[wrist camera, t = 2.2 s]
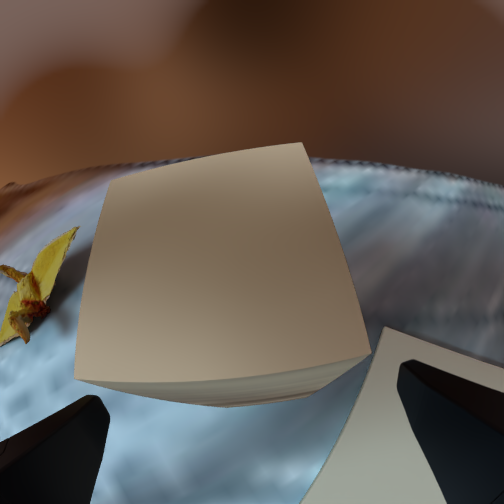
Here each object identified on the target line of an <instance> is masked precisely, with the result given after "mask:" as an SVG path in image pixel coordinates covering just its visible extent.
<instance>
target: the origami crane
mask: <svg viewBox="0 0 504 504" xmlns="http://www.w3.org/2000/svg"><path fill="white" fill-rule="evenodd" d="M79 227H80V226H78V227H74V228H72V229H71V230H69V231H67V232H65V233H63V234H62V235H61V236H58V237H57V238H56V239H53V240H52V241H51V242H50V243H49V244H48V245H45V247H43V249H42V250H41V251H40V252H39V253H38V255H37V257H36V259H35V261H34V263H33V266H32V271H31V272H30V273H29V274H27V273H25V272H19V271H17V270H15V268H13V267H10V266H6V265H1V266H0V273H2V274H4V275H5V276H7V277H10V278H12V279H14V280H15V281H16V282H18V284H17V292H14V293H13V294H12V296H11V298H10V300H9V303H8V307H7V311H6V314H5V318H4V321H3V324H2V327H1V331H0V346H1V345H3V344H6V342H8V341H10V340H11V339H12V338H14V337H18V336H21V338H22V339H23V340H24V342H25V344H27V343H28V342H29V341H30V333H29V330H28V328H27V327H28V326H29V325H30V323H31V322H32V321H33V316H35V317H39V316H41V319H42V318H44V317H45V316H46V315H47V314H48V313H49V312H50V306H49V307H47V306H46V301H47V299H48V298H49V296H50V294H51V292H52V288H53V286H55V285H56V281H55V278H56V275H57V274H58V271H60V267H61V264H62V263H63V261H64V259H65V256H66V252H67V251H68V250H69V249H70V245H71V242H72V241H73V240H74V238H75V236H76V231H77V230H78V229H79Z"/></svg>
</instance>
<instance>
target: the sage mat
mask: <svg viewBox="0 0 504 504" xmlns="http://www.w3.org/2000/svg"><path fill="white" fill-rule="evenodd" d="M411 359H415V360H418V361H420V362H423V363H425V364H428V365H430V366H433V367H436V368H438V369H441V370H443V371H446V372H449V373H451V374H454V375H456V376H459V377H462V378H464V379H467V380H470V381H473V382H475V383H478V384H481V385H484V386H486V387H489V388H492V389H495V390H498V391H501V392H504V369H503V368H500V367H497V366H494V365H491V364H488V363H485V362H482V361H480V360H477V359H474V358H471V357H468V356H465V355H462V354H459V353H457V352H454V351H451V350H448V349H445V348H443V347H440V346H437V345H434V344H431V343H429V342H426V341H423V340H420V339H418V338H415V337H412V336H409V335H407V334H404V333H401V332H399V331H396V330H393V329H391V328H388V327H384V328H383V329H382V332H381V336H380V339H379V342H378V344H377V347H376V350H375V353H374V356H373V359H372V361H371V364H370V367H369V369H368V372H367V374H366V377H365V379H364V382H363V384H362V387H361V389H360V392H359V394H358V396H357V399H356V401H355V403H354V405H353V408H352V410H351V412H350V414H349V416H348V418H347V421H346V423H345V425H344V427H343V429H342V431H341V433H340V435H339V437H338V439H337V441H336V443H335V444H334V446H333V448H332V450H331V452H330V454H329V456H328V457H327V459H326V461H325V463H324V464H323V466H322V468H321V470H320V471H319V473H318V475H317V476H316V478H315V480H314V481H313V483H312V484H311V486H310V488H309V489H308V491H307V492H306V494H305V495H304V497H303V498H302V500H301V501H300V503H299V504H447V503H446V501H445V499H444V496H443V494H442V492H441V490H440V487H439V485H438V483H437V481H436V479H435V476H434V474H433V472H432V470H431V468H430V466H429V464H428V462H427V460H426V458H425V456H424V453H423V451H422V449H421V447H420V445H419V443H418V441H417V439H416V437H415V435H414V433H413V431H412V429H411V426H410V423H409V421H408V418H407V415H406V412H405V410H404V407H403V404H402V402H401V399H400V397H399V394H398V391H397V378H398V372H399V366H400V364H401V363H402V362H405V361H408V360H411Z"/></svg>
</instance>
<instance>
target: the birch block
mask: <svg viewBox="0 0 504 504" xmlns="http://www.w3.org/2000/svg"><path fill="white" fill-rule="evenodd" d="M371 353H372V352H371V348H370V344H369V340H368V336H367V332H366V328H365V324H364V320H363V316H362V313H361V309H360V305H359V302H358V298H357V295H356V291H355V288H354V284H353V281H352V278H351V274H350V271H349V268H348V265H347V262H346V259H345V255H344V252H343V249H342V246H341V243H340V240H339V237H338V235H337V232H336V229H335V226H334V223H333V220H332V217H331V215H330V212H329V209H328V207H327V204H326V201H325V199H324V196H323V193H322V191H321V188H320V186H319V183H318V181H317V178H316V176H315V173H314V171H313V168H312V166H311V163H310V161H309V158H308V156H307V154H306V152H305V149H304V147H303V144H302V143H291V144H283V145H276V146H268V147H261V148H254V149H248V150H242V151H235V152H230V153H224V154H218V155H213V156H208V157H203V158H198V159H193V160H189V161H184V162H180V163H175V164H171V165H167V166H163V167H159V168H155V169H151V170H147V171H143V172H139V173H136V174H132V175H128V176H125V177H121V178H118V179H115V180H111V182H110V185H109V188H108V191H107V194H106V197H105V201H104V204H103V207H102V211H101V214H100V218H99V221H98V225H97V229H96V232H95V236H94V240H93V244H92V249H91V253H90V257H89V262H88V267H87V272H86V277H85V282H84V288H83V294H82V300H81V307H80V314H79V322H78V330H77V340H76V352H75V368H74V379H77V380H80V381H83V382H86V383H90V384H93V385H97V386H101V387H105V388H108V389H112V390H116V391H121V392H125V393H129V394H134V395H139V396H144V397H149V398H155V399H160V400H166V401H173V402H179V403H187V404H195V405H203V406H213V407H225V408H229V407H241V406H251V405H260V404H268V403H276V402H283V401H289V400H295V399H301V398H306V397H308V396H310V395H311V394H313V393H315V392H316V391H318V390H319V389H321V388H323V387H324V386H326V385H327V384H329V383H330V382H332V381H333V380H335V379H336V378H338V377H339V376H341V375H342V374H344V373H345V372H347V371H348V370H349V369H351V368H352V367H354V366H355V365H356V364H358V363H359V362H361V361H362V360H363V359H365V358H366V357H367V356H369V355H370V354H371Z"/></svg>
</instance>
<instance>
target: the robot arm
mask: <svg viewBox="0 0 504 504" xmlns="http://www.w3.org/2000/svg"><path fill="white" fill-rule="evenodd" d="M397 391H398V394H399V397H400V399H401V402H402V404H403V407H404V410H405V412H406V415H407V418H408V421H409V423H410V426H411V429H412V431H413V433H414V435H415V437H416V439H417V441H418V443H419V445H420V447H421V449H422V451H423V453H424V456H425V458H426V460H427V462H428V464H429V466H430V468H431V470H432V472H433V474H434V476H435V479H436V481H437V483H438V485H439V487H440V490H441V492H442V494H443V496H444V499H445V501H446V503H447V504H504V392H501V391H498V390H495V389H492V388H489V387H486V386H484V385H481V384H478V383H475V382H473V381H470V380H467V379H464V378H462V377H459V376H456V375H454V374H451V373H449V372H446V371H443V370H441V369H438V368H436V367H433V366H430V365H428V364H425V363H423V362H420V361H418V360H415V359H411V360H408V361H405V362H402V363H401V364H400V366H399V372H398V378H397ZM109 424H110V415H109V412H108V411H107V409H106V407H105V406H104V404H103V402H102V400H101V399H100V397H98V396H96V395H86V396H84V397H82V398H80V399H79V400H77V401H75V402H73V403H72V404H70V405H68V406H66V407H65V408H63V409H61V410H59V411H57V412H56V413H54V414H52V415H50V416H49V417H47V418H45V419H43V420H41V421H39V422H38V423H36V424H34V425H32V426H30V427H28V428H26V429H25V430H23V431H21V432H19V433H17V434H15V435H13V436H11V437H10V438H7V439H5V440H4V441H2V442H0V504H90V501H91V497H92V493H93V490H94V486H95V482H96V479H97V475H98V472H99V468H100V465H101V462H102V458H103V453H104V448H105V443H106V438H107V433H108V429H109Z"/></svg>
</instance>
